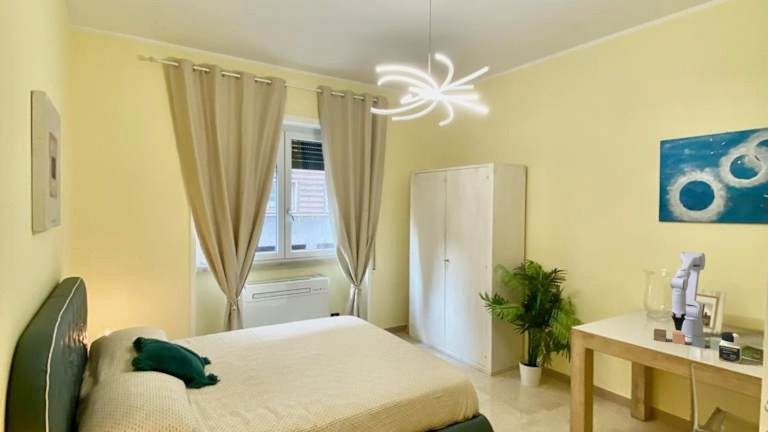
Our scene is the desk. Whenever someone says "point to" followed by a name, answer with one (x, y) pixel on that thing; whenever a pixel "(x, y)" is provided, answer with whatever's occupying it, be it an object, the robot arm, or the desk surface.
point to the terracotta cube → (678, 338)
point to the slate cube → (698, 341)
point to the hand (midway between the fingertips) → (678, 328)
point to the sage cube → (715, 343)
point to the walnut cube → (660, 335)
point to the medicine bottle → (730, 348)
